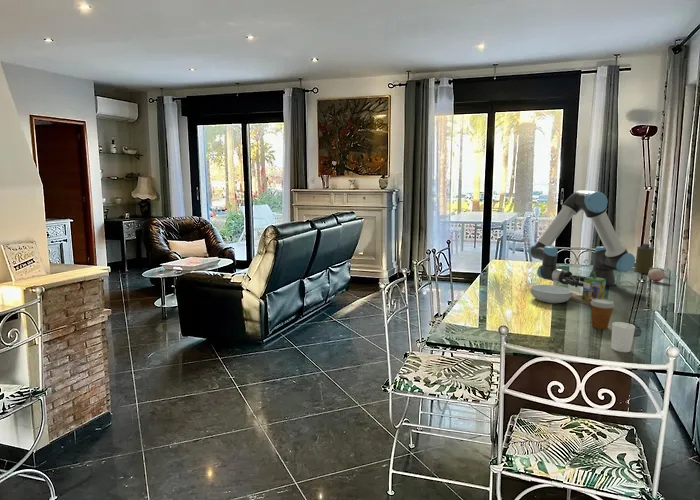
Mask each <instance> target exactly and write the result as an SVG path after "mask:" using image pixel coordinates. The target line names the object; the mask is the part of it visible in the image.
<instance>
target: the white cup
mask: <svg viewBox="0 0 700 500" xmlns="http://www.w3.org/2000/svg"><path fill="white" fill-rule="evenodd" d="M635 329H636V326H635V325H634V324H632V323H627V322H624V321H623V322H622V321H613V322H612V323H611V338H610V339H611V341H610V342H611V343H610V345H611V346H610V348H611V349H612V350H613V351H616V352H620V353H630V352H631V349H632V346H633V342H634V337H635Z"/></svg>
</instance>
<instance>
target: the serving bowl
mask: <svg viewBox="0 0 700 500" xmlns="http://www.w3.org/2000/svg"><path fill="white" fill-rule="evenodd" d="M529 289H530V293H531V295H532V296H533V298H534V299H536V300H538V301H541V302H543V303H547V304H561V303H565V302H568V301H570V298H571V296H572V293H573V291H574V290H573V289H570V288H568V287H564V286H560V285H554V284H552V285H551V284H534V285H531V286H530V287H529Z"/></svg>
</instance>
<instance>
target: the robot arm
mask: <svg viewBox="0 0 700 500" xmlns="http://www.w3.org/2000/svg"><path fill="white" fill-rule="evenodd" d="M608 203H609V202H608V198H607V196H606V195H605V194H604V193H603V192H601V191H597V190H585V189H580V190H576V191H575V192H573V193H572V194H571V195H570V196H569V197H568V198H567V199H566V200H565V201H564V202H563V204H562V205H561V209H560V211H559V212H558V214H557V215H556V216H555V218H554V219H553V220H552V222H551V223H550V225H549V226H548V227H547V229H546V230H545V231H544V233H543V234H542V236H541V237H540V239H539V240H538V241H537V242H536V244H533V245H531V246H530V247H529V248H528V255H529V256H530V257H532V258H533V259H537V260H540V261H542V264H541V265H539V267H538V268H537V270H536V274H537V277H539V278H541V279H543V280H545V281H546V280H547V281H552V282H555V283H556V284H562V285H569V286H571V287H574V288H578V287H581V288H583V287H584V288H588V289H590V283H586V282H584V278H586V277H587V276H583V275H579V274H578V275H575V274H573V273H572V272H571V271H569V270H564V269H560V268H557V260H558V254H559V253H558V247H557V246H554V245H553V244H554V243H555V241H556V240H557V238H558V237H559V236H560V234H561V233H562V232H563V230H564V229H565V227H566V226H567V225H568V223H569V222H570V221H571V219H572V218H573V217H574V216H576V215H577V214H579V212H580V211H583V213H584V214H585V216H586V218H588V219H590V221H591V222H592V225H593V226H594V228H595V230H596V232H597V234H598V236H599V238H600V241H601V242H602V246H595V248H594V252H593V263H592V270H591V272H590V275H589V276H591V277H593V272H594V271H595V274H596V277H599V278H604V279H606V283H605V286H615V284H616V278H615V274H614V273H615V272H614V271H616V272H619V273H627V272H630V271H631V270H632V269H633V268H635V263H636V256H635V255H634V254H633V253H631V252H629V251H628V249H627V247H626V246H625V245H623V244H622V243H621V240H620V239H619V237H618V235H617V233H616V231H615V229H614V227H613V225H612V222H611V220H610V218H609V215H608V213H607V210H608V208H607V207H608ZM595 274H594V277H595Z"/></svg>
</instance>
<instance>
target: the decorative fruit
mask: <svg viewBox="0 0 700 500" xmlns="http://www.w3.org/2000/svg"><path fill="white" fill-rule="evenodd" d="M650 269H651V270H649V272H648V274H647V276H648V278H649V279H650V280H651V281H652V282H654V283H657V282H661V281H662V280H664V278H665V276H666V275H665V274H666V273H665V272H666V270H665V269H663V268H658V266H657V267H652V268H650Z"/></svg>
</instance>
